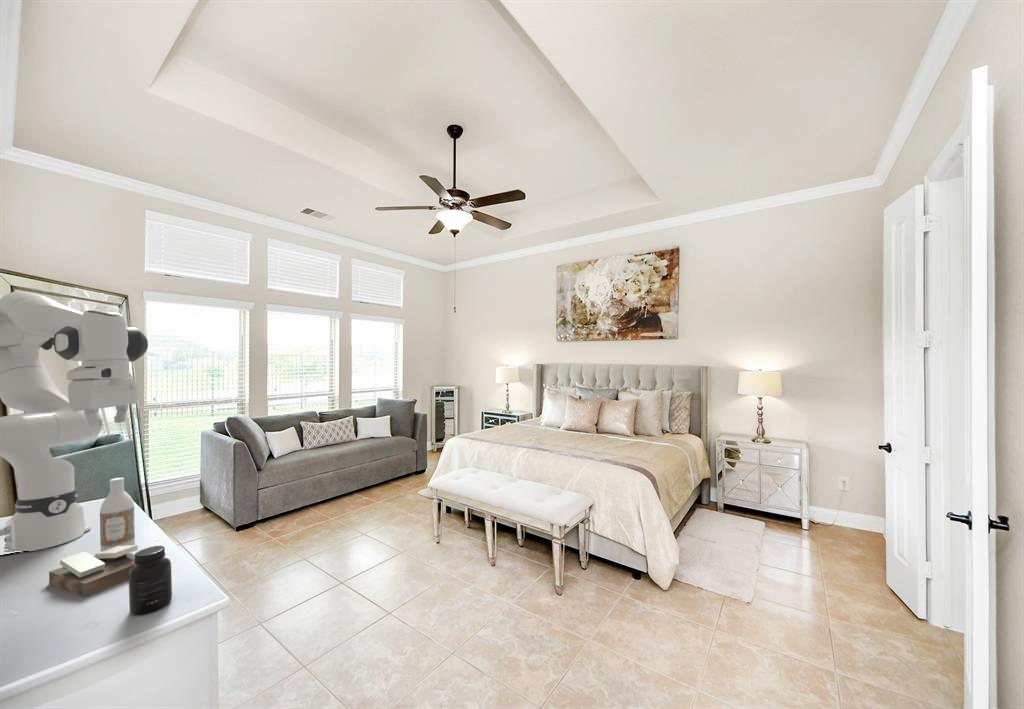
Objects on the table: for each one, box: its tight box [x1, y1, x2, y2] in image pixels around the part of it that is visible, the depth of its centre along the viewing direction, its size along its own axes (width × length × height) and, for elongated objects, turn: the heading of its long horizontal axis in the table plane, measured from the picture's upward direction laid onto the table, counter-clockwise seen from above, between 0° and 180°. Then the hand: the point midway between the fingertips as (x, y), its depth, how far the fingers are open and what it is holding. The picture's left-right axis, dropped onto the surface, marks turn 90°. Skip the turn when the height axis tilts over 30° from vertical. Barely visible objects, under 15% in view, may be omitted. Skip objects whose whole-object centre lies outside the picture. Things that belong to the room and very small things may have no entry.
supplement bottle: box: [128, 545, 173, 617], centre depth 87 cm, size 7×7×12 cm
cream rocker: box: [95, 544, 139, 559], centre depth 103 cm, size 9×4×1 cm, turn 68°
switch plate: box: [48, 553, 135, 598], centre depth 100 cm, size 16×12×4 cm
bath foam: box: [99, 477, 136, 552], centre depth 115 cm, size 7×7×20 cm
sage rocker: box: [59, 550, 105, 578], centre depth 97 cm, size 9×4×1 cm, turn 68°
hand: (108, 424), depth 106 cm, fingers open, 8 cm apart
